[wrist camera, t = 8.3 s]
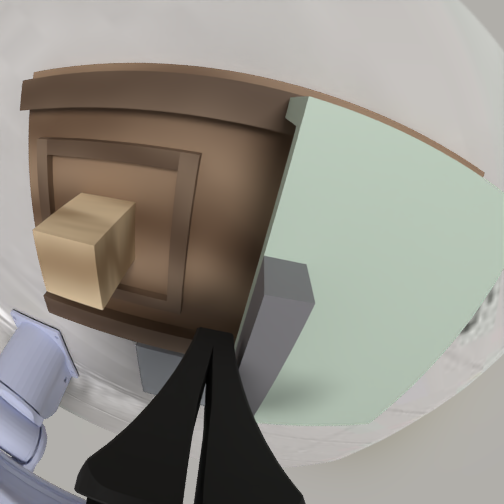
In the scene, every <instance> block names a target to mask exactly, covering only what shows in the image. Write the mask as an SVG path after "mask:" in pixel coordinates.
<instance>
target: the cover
mask: <svg viewBox="0 0 504 504" xmlns="http://www.w3.org/2000/svg"><path fill="white" fill-rule="evenodd" d="M285 118H286V119H287V120H289V121H290V122H292V123H293V124H294V125H296V130H295V134H294V137H293V141H292V144H291V148H290V152H289V155H288V159H287V163H286V166H285V170H284V173H283V177H282V181H281V184H280V188H279V191H278V195H277V199H276V202H275V206H274V209H273V213H272V216H271V220H270V223H269V227H268V230H267V234H266V238H265V241H264V245H263V248H262V252H261V255H260V259H259V262H258V266H257V269H256V273H255V276H254V279H253V283H252V286H251V290H250V293H249V297H248V300H247V304H246V307H245V311H244V314H243V317H242V321H241V324H240V328H239V331H238V335H237V338H236V341H235V345H234V348H235V355H236V360H237V365H238V370H239V374H240V377H241V381H242V385H243V388H244V391H245V394H246V397H247V400H248V403H249V406H250V408H251V411H252V413H253V416H254V418H255V420H256V423H263V424H276V425H296V426H342V425H361V424H369V423H371V422H372V421H373V420H374V419H376V418H377V417H378V416H379V415H380V414H382V413H383V412H384V411H385V410H386V409H387V408H389V407H390V406H391V405H392V404H393V403H394V402H395V401H397V400H398V399H399V398H400V397H401V396H402V395H403V394H404V393H405V392H406V391H407V390H408V389H410V388H411V387H412V386H413V385H414V384H415V383H416V382H417V381H418V380H419V379H420V378H421V377H422V376H423V375H424V374H425V373H426V372H427V370H428V369H429V368H430V367H431V366H432V365H433V364H434V363H435V362H436V361H437V360H438V359H439V357H440V356H441V355H442V354H443V353H444V352H445V351H446V349H447V348H448V347H449V346H450V345H451V344H452V342H453V341H454V340H455V339H456V337H457V336H458V335H459V334H460V332H461V331H462V330H463V329H464V327H465V326H466V325H467V323H468V322H469V321H470V319H471V318H472V317H473V315H474V314H475V312H476V311H477V310H478V308H479V307H480V305H481V304H482V302H483V301H484V299H485V298H486V296H487V295H488V293H489V292H490V290H491V289H492V287H493V286H494V284H495V282H496V281H497V279H498V277H499V276H500V274H501V272H502V270H503V269H504V192H502V191H501V190H500V189H498V188H497V187H496V186H494V185H493V184H491V183H490V182H489V181H487V180H486V179H484V178H483V177H481V176H480V175H478V174H477V173H475V172H474V171H472V170H471V169H469V168H468V167H466V166H464V165H463V164H461V163H460V162H458V161H456V160H455V159H453V158H451V157H450V156H448V155H446V154H444V153H443V152H441V151H439V150H437V149H435V148H434V147H432V146H430V145H428V144H426V143H424V142H422V141H420V140H418V139H416V138H414V137H412V136H410V135H408V134H406V133H404V132H402V131H400V130H398V129H395V128H393V127H391V126H389V125H387V124H384V123H382V122H380V121H377V120H375V119H372V118H370V117H367V116H365V115H362V114H360V113H357V112H355V111H352V110H349V109H346V108H344V107H341V106H338V105H335V104H332V103H329V102H326V101H323V100H320V99H317V98H313V97H310V96H304V97H290V101H289V105H288V109H287V113H286V116H285Z"/></svg>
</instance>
